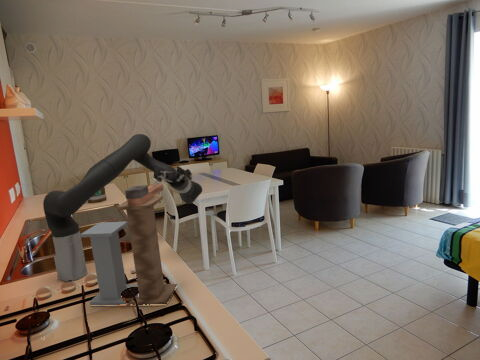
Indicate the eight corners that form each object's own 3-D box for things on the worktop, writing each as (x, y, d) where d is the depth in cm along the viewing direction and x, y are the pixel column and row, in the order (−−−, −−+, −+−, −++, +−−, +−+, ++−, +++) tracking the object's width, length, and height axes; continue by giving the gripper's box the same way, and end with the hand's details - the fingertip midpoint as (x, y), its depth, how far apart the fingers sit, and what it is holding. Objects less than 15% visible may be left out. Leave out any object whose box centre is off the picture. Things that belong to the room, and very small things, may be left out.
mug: (103, 197, 266) (100, 178, 263) (109, 200, 255) (106, 180, 252) (76, 203, 254) (73, 183, 251) (81, 206, 243) (77, 185, 240)
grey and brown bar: (127, 205, 102) (124, 190, 101) (151, 190, 120) (149, 177, 119) (141, 204, 101) (139, 189, 100) (163, 189, 120) (162, 177, 119)
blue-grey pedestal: (90, 306, 109) (77, 234, 105) (107, 288, 120) (96, 222, 115) (126, 306, 108) (114, 233, 103) (140, 288, 118) (130, 221, 114)
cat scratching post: (129, 306, 108) (113, 207, 101) (143, 288, 118) (129, 197, 112) (166, 306, 106) (152, 205, 100) (177, 288, 117) (165, 195, 110)
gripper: (164, 174, 148) (149, 161, 132) (196, 172, 146) (185, 158, 130) (163, 191, 145) (148, 180, 130) (196, 189, 143) (184, 177, 128)
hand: (166, 169), depth 130 cm, fingers open, 8 cm apart
